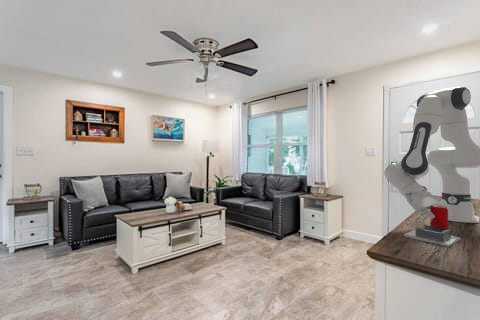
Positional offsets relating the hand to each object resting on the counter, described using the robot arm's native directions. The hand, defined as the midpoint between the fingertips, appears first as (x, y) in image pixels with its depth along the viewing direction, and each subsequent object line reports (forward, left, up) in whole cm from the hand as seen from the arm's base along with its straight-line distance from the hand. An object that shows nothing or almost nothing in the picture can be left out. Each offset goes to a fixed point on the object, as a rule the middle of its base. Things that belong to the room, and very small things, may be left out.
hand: (438, 216), depth 110 cm
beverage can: (0, 0, -7) cm, 7 cm away
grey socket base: (+12, +1, -7) cm, 14 cm away
